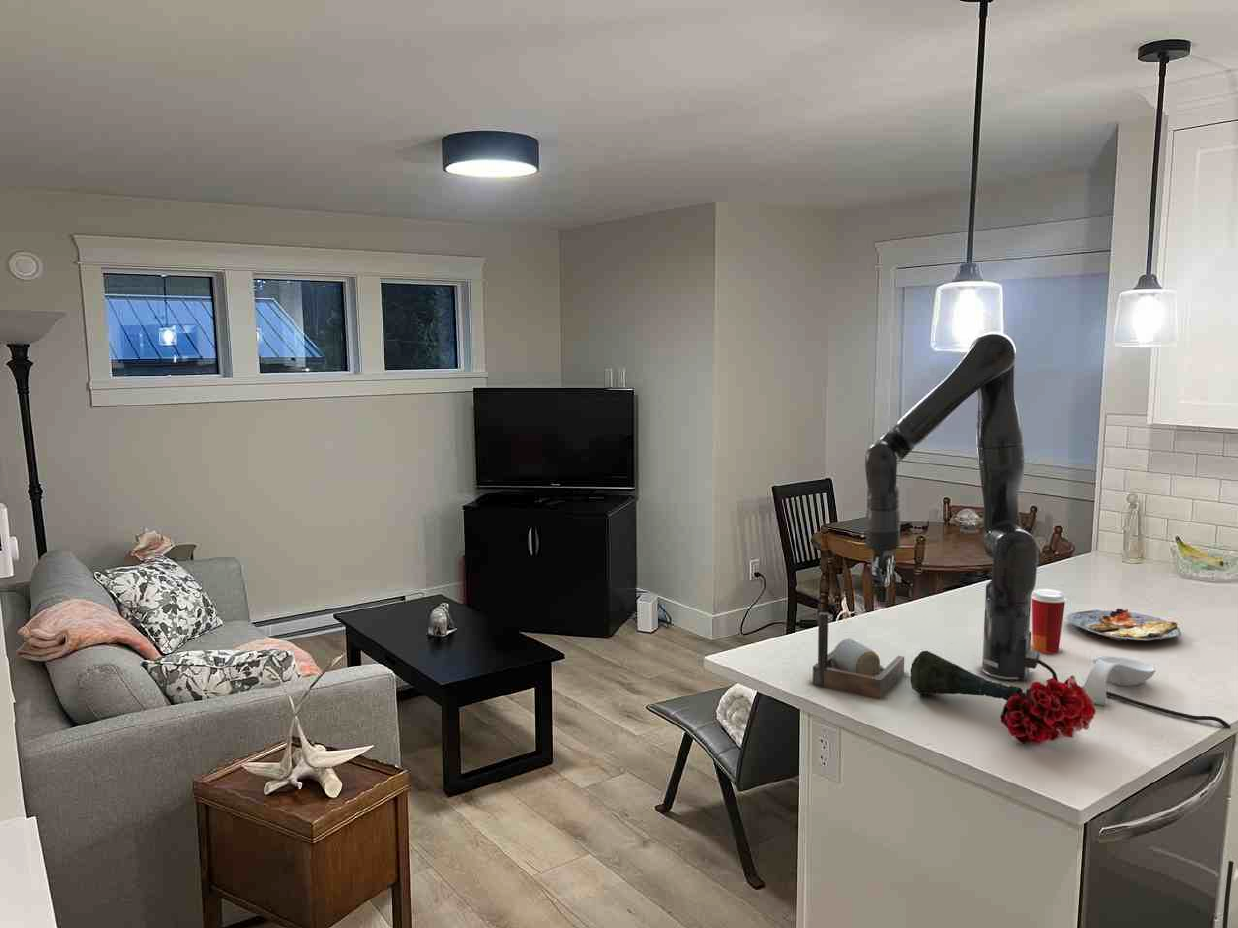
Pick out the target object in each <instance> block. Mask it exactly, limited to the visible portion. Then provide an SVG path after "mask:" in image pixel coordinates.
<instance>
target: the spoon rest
mask: <svg viewBox="0 0 1238 928" xmlns="http://www.w3.org/2000/svg"><path fill="white" fill-rule="evenodd" d="M1092 663H1093V665H1092V668H1091V669H1090V672H1089V673H1088V676H1087V677H1086V680H1085V682H1084V685H1083V686H1085V687H1086V688H1087V691H1088V693H1089V694H1090V696H1091V698H1092V701H1093V703H1092V704H1097V705H1101V706H1107V695H1106V691H1107V682H1109V683H1111V684H1113V685H1117V686H1122V687H1135V686H1138V685H1139V684H1142V683H1145V682H1147V681H1148V680H1150V679H1151V678H1152V677H1153V676H1154V674H1155V673H1156V667H1154V666H1153V665H1151V664H1149V663H1147V662H1144V661H1140V660H1136V659H1132V658H1127V657H1121V656H1112V655H1110V656H1109V655H1101V656H1095V657H1093V658H1092Z"/></svg>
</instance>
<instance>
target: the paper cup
mask: <svg viewBox="0 0 1238 928" xmlns="http://www.w3.org/2000/svg"><path fill="white" fill-rule="evenodd" d="M1066 602H1067V598H1066V595H1065V593H1064V592H1062V591H1060V590H1057V589H1051V588H1038V589H1034V590H1033V592H1032V595H1031V624H1032V625H1031V643H1032V651H1035V652H1039V654H1045V655H1054V654H1058V653H1059V651H1060V644H1061V643H1060V642H1061V637H1062V636H1061V635H1062V630H1063V629H1062V628H1063V620H1064V611H1065V604H1066Z"/></svg>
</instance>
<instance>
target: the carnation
mask: <svg viewBox="0 0 1238 928" xmlns="http://www.w3.org/2000/svg"><path fill="white" fill-rule="evenodd" d="M909 679H910V684H911V688H912V690H913V691H915V692H916V693H917V694H925V695H927V694H930V695H931V694H934V695H935V694H937V695H939V694H941V695H959V694H960V695H968V696H981V697H982V696H986V697H991V698H995V699H1002V700H1004V701H1006V702H1005V703H1004V704H1003V708H1002V711H1001V714H1000V717H999V718H1000V723H1001V724H1003V725H1004V726H1005V727H1006V729H1007V731H1008V733H1009V735H1010V736H1012V737H1014V738H1015V739H1016V740H1017V741H1018V742H1019V743H1021V744H1023V745H1025V744H1029V743H1032V744H1034V745H1039V744H1043V743H1046V742H1047V741H1053V742H1054V741H1055V740H1057V739H1059V738H1060V733H1061V734H1062V735H1063V736H1064V737H1066V738H1070V739H1073V738H1074V736H1073V734H1074V733H1076V732H1080V731H1082V730H1087V731H1088V730H1089V729H1090V724H1091V723H1092V720H1094V719H1095V716H1096V712H1097V711H1096V708H1095V706H1094V705H1093V704H1094V703H1093V701H1092V698H1091V696H1090V694H1089V693H1088V691H1087V688H1086V687H1085V686H1084V685H1083V686H1080V685H1078V683H1077V680H1076V677H1075V676H1074V675H1073V674H1072V675H1070V677H1068V678H1067V679H1065V680H1064V681H1063V682H1062V681H1061V682H1060V681H1059V682H1057V681H1056V680H1055V679H1054V677H1053V676H1052V677H1051V678H1048V679H1046V684H1043V683H1041V682H1040V681H1032V683H1031V685H1030V687H1029V688H1027V689H1026V691H1025V692H1023V691H1024V690H1023V689H1022V688H1021V686H1020V687H1019V686H1014V685H1006V684H1002V683H1001V682H994V681H992V680H988V679H986V678H984V677H982V676H979V675H977V674H974V673H973V672H970V671H968V670H967V669H965V668H963V667H961V666H959V665H957V664H955V663H953V662H951V661H949V660H947V659H945V658H943V657H941V656H939V655H937V654H935V653H933V652H931V651H929V650H922V651H920V652H919V654H917V656H916V657H915V658H914V659H913V661H912V663H911V667H910V678H909Z"/></svg>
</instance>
